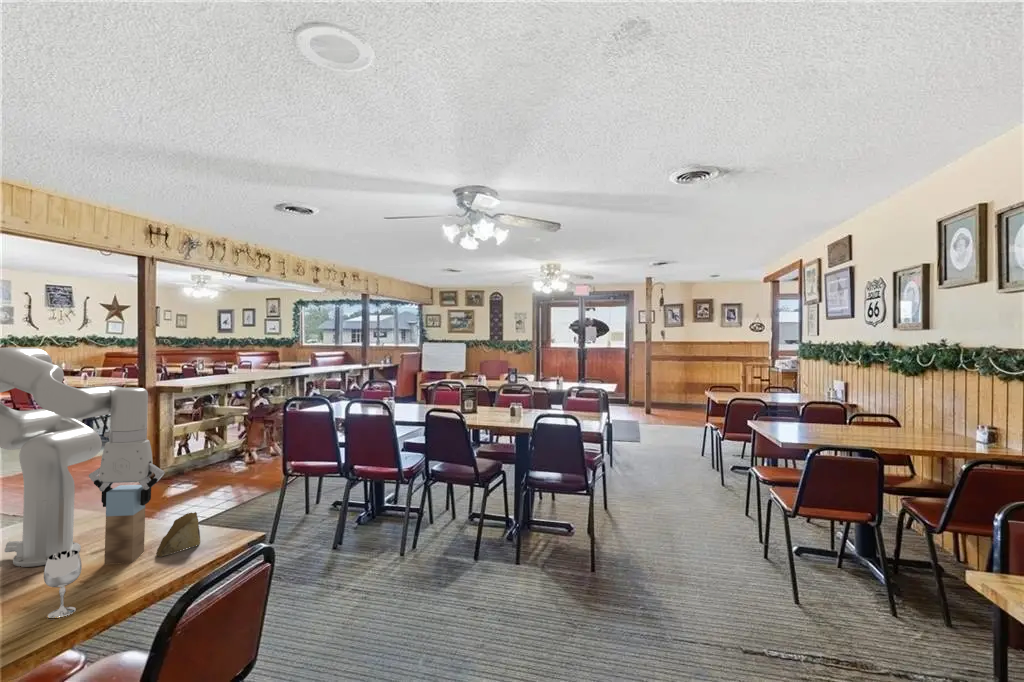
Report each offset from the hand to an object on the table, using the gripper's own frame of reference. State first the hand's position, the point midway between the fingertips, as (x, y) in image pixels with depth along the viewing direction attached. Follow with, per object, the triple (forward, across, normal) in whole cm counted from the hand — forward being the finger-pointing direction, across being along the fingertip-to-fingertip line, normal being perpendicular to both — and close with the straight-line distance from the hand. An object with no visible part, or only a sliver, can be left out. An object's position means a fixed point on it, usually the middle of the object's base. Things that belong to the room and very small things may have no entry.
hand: (126, 504), depth 126 cm
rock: (+14, +11, +4) cm, 18 cm away
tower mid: (+8, 0, 0) cm, 8 cm away
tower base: (+14, 0, 0) cm, 14 cm away
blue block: (+2, 0, 0) cm, 2 cm away
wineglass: (+14, +1, -26) cm, 30 cm away
